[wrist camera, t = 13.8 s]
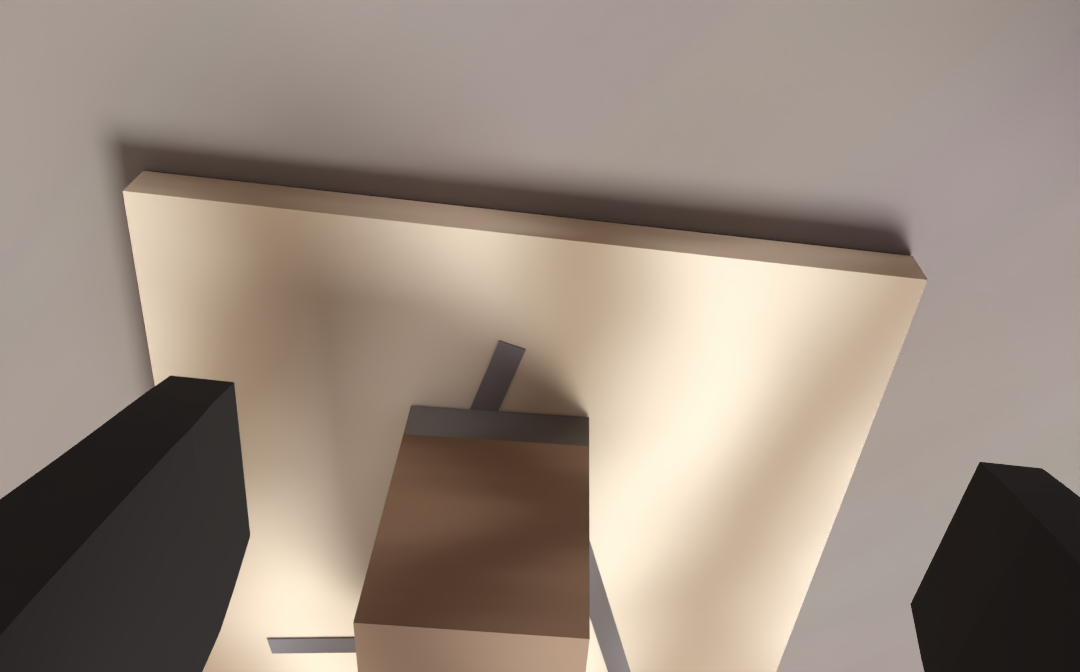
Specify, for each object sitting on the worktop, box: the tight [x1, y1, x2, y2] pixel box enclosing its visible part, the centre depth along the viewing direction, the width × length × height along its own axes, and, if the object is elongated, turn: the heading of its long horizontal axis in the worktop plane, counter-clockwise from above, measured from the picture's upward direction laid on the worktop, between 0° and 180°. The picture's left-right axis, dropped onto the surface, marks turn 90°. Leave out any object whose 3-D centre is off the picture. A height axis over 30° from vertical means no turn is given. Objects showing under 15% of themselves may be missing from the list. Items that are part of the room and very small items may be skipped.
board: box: [123, 171, 927, 672], centre depth 23 cm, size 16×18×1 cm
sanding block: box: [353, 406, 590, 672], centre depth 20 cm, size 4×8×6 cm, turn 177°
